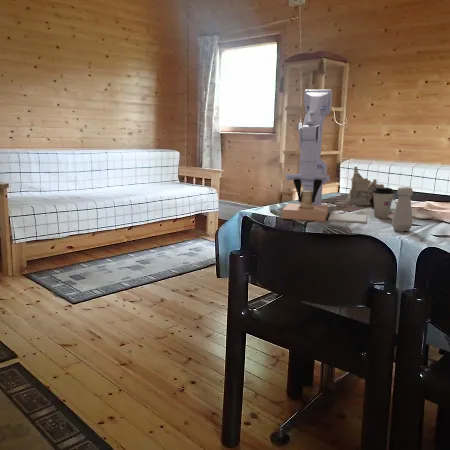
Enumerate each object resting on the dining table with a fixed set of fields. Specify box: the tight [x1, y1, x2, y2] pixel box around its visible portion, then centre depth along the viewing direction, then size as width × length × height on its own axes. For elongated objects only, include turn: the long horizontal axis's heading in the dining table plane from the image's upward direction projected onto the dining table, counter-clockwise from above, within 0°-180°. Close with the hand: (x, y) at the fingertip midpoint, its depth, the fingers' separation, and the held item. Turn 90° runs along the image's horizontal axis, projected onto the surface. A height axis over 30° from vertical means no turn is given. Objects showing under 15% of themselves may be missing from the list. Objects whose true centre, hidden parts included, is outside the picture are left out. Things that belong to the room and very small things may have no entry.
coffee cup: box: [373, 186, 395, 219], centre depth 159 cm, size 7×7×10 cm
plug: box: [299, 190, 313, 209], centre depth 158 cm, size 4×4×8 cm
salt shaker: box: [391, 186, 414, 232], centre depth 137 cm, size 6×6×13 cm
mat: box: [327, 212, 367, 224], centre depth 155 cm, size 12×12×1 cm
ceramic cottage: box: [345, 166, 385, 206], centre depth 192 cm, size 16×16×15 cm
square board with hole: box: [281, 203, 329, 222], centre depth 159 cm, size 14×14×3 cm
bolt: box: [369, 195, 374, 208], centre depth 175 cm, size 6×5×15 cm
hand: (306, 201), depth 158 cm, fingers closed on plug, 4 cm apart
